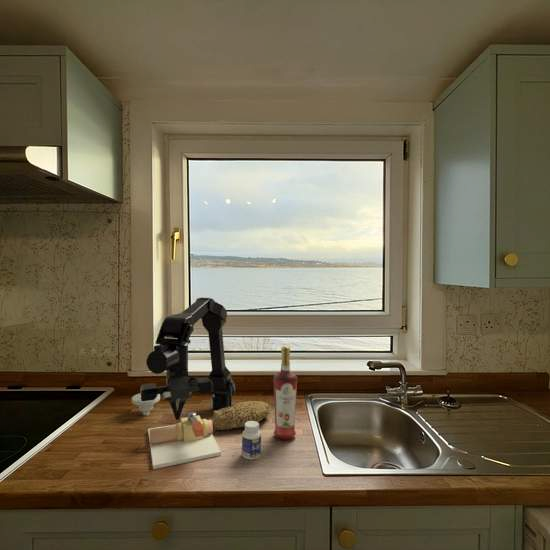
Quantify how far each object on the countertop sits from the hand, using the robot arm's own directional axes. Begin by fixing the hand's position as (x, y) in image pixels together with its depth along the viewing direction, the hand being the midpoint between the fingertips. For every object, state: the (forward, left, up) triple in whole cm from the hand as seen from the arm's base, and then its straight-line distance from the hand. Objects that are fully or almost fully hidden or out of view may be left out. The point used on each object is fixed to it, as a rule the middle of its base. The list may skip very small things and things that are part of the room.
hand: (177, 419), depth 97 cm
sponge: (-23, -14, -11) cm, 29 cm away
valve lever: (-6, -4, -5) cm, 8 cm away
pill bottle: (-20, +6, -11) cm, 23 cm away
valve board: (-3, -8, -11) cm, 14 cm away
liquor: (-33, 0, -11) cm, 34 cm away
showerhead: (+6, -33, -11) cm, 35 cm away
